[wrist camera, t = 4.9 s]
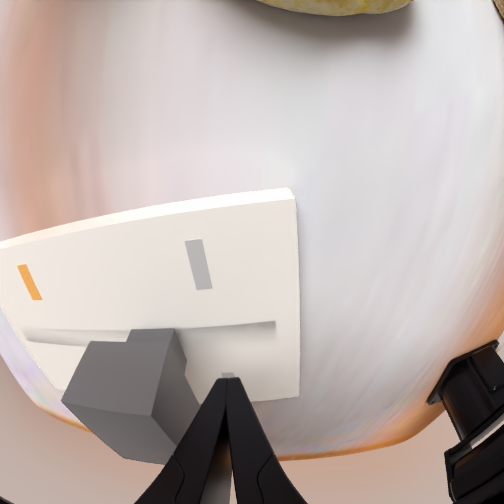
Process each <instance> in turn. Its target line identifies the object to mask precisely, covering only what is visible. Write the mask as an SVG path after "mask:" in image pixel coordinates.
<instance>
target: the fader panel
mask: <svg viewBox="0 0 504 504" xmlns="http://www.w3.org/2000/svg"><path fill="white" fill-rule="evenodd" d="M0 307H1V309H2V311H3V312H4V314H5V316H6V318H7V319H8V321H9V323H10V325H11V326H12V328H13V330H14V331H15V333H16V334H17V336H18V337H19V339H20V341H21V342H22V344H23V345H24V347H25V348H26V349H27V351H28V352H29V354H30V355H31V357H32V358H33V359H34V361H35V362H36V363H37V365H38V366H39V367H40V369H41V370H42V371H43V373H44V374H45V375H46V376H47V378H48V379H49V380H50V381H51V383H52V384H53V385H54V386H55V387H56V389H60V390H65V391H66V389H67V386H68V384H69V382H70V380H71V378H72V376H73V374H74V372H75V370H76V368H77V366H78V364H79V362H80V360H81V358H82V356H83V354H84V352H85V350H86V348H87V346H88V344H89V342H90V341H111V342H126V340H127V338H128V336H129V333H130V331H131V329H162V328H174V329H175V331H176V334H177V336H178V339H179V342H180V344H181V347H182V349H183V351H184V354H185V356H186V359H187V363H186V369H185V374H184V375H185V377H186V379H187V381H188V383H189V385H190V387H191V389H192V391H193V393H194V395H195V397H196V399H197V401H198V403H199V404H203V402H204V400H205V398H206V397H207V395H208V393H209V392H210V390H211V388H212V386H213V385H214V383H215V381H216V380H217V379H218V378H230V377H239V378H240V379H241V381H242V384H243V386H244V388H245V391H246V393H247V395H248V398H249V400H250V402H256V401H267V400H276V399H285V398H292V397H299V385H300V292H299V258H298V235H297V216H296V199H295V197H294V196H293V194H292V192H291V191H290V189H289V188H279V189H270V190H260V191H252V192H243V193H235V194H227V195H220V196H212V197H205V198H199V199H192V200H185V201H179V202H173V203H167V204H161V205H155V206H150V207H144V208H139V209H133V210H128V211H123V212H118V213H113V214H108V215H103V216H99V217H94V218H90V219H85V220H81V221H76V222H72V223H68V224H64V225H60V226H56V227H52V228H48V229H44V230H40V231H36V232H33V233H29V234H25V235H22V236H18V237H15V238H11V239H8V240H5V241H1V242H0Z"/></svg>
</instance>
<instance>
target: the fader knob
mask: <svg viewBox="0 0 504 504" xmlns="http://www.w3.org/2000/svg"><path fill="white" fill-rule="evenodd" d="M186 363H187V359H186V356H185V354H184V351H183V349H182V347H181V344H180V342H179V339H178V336H177V334H176V331H175V329H174V328H162V329H131V331H130V333H129V336H128V338H127V340H126V342H111V341H90V342H89V344H88V346H87V348H86V350H85V352H84V354H83V356H82V358H81V360H80V362H79V364H78V366H77V368H76V370H75V372H74V374H73V376H72V378H71V380H70V382H69V384H68V386H67V389H66V391H65V393H64V395H63V397H62V400H61V402H62V403H63V404H64V405H65V406H66V407H67V408H68V409H69V410H70V411H71V412H72V413H73V414H74V415H75V416H76V417H77V418H78V419H79V420H80V421H81V422H82V423H83V424H84V425H85V426H86V427H87V428H88V429H89V430H91V431H92V432H93V433H94V434H95V435H96V436H97V437H98V438H100V439H101V440H102V441H103V442H104V443H105V444H106V445H108V446H109V447H110V448H111V449H113V450H114V451H115V452H117V453H118V454H119V455H120V456H121V457H123V458H125V459H131V460H136V461H142V462H148V463H155V464H163V465H166V463H167V462H168V460H169V459H170V457H171V455H174V454H173V452H174V451H175V449H176V447H177V446H178V444H179V442H180V441H181V439H182V437H183V436H184V434H185V432H186V431H187V429H188V427H189V426H190V424H191V422H192V421H193V419H194V417H195V416H196V414H197V412H198V410H199V409H200V405H199V403H198V401H197V399H196V397H195V395H194V393H193V391H192V389H191V387H190V385H189V383H188V381H187V379H186V377H185V375H184V374H185V369H186Z"/></svg>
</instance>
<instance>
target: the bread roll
mask: <svg viewBox="0 0 504 504" xmlns="http://www.w3.org/2000/svg"><path fill="white" fill-rule="evenodd" d="M257 1H260V2H262V3H265V4H268V5H270V6H274V7H278V8H282V9H285V10H289V11H293V12H300V13H308V14H315V15H330V16H345V15H353V14H360V13H366V14H382V13H387V12H391V11H394V10H397V9H400V8H402V7H404V6H406V5H408V4H409V3H410V2H411V1H412V0H257Z"/></svg>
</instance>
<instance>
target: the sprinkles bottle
mask: <svg viewBox="0 0 504 504" xmlns="http://www.w3.org/2000/svg"><path fill="white" fill-rule="evenodd" d="M494 2H495V4H496V6H497V8H498V9H499V12H500V14H501V16H502V17H503V19H504V0H494Z"/></svg>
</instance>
